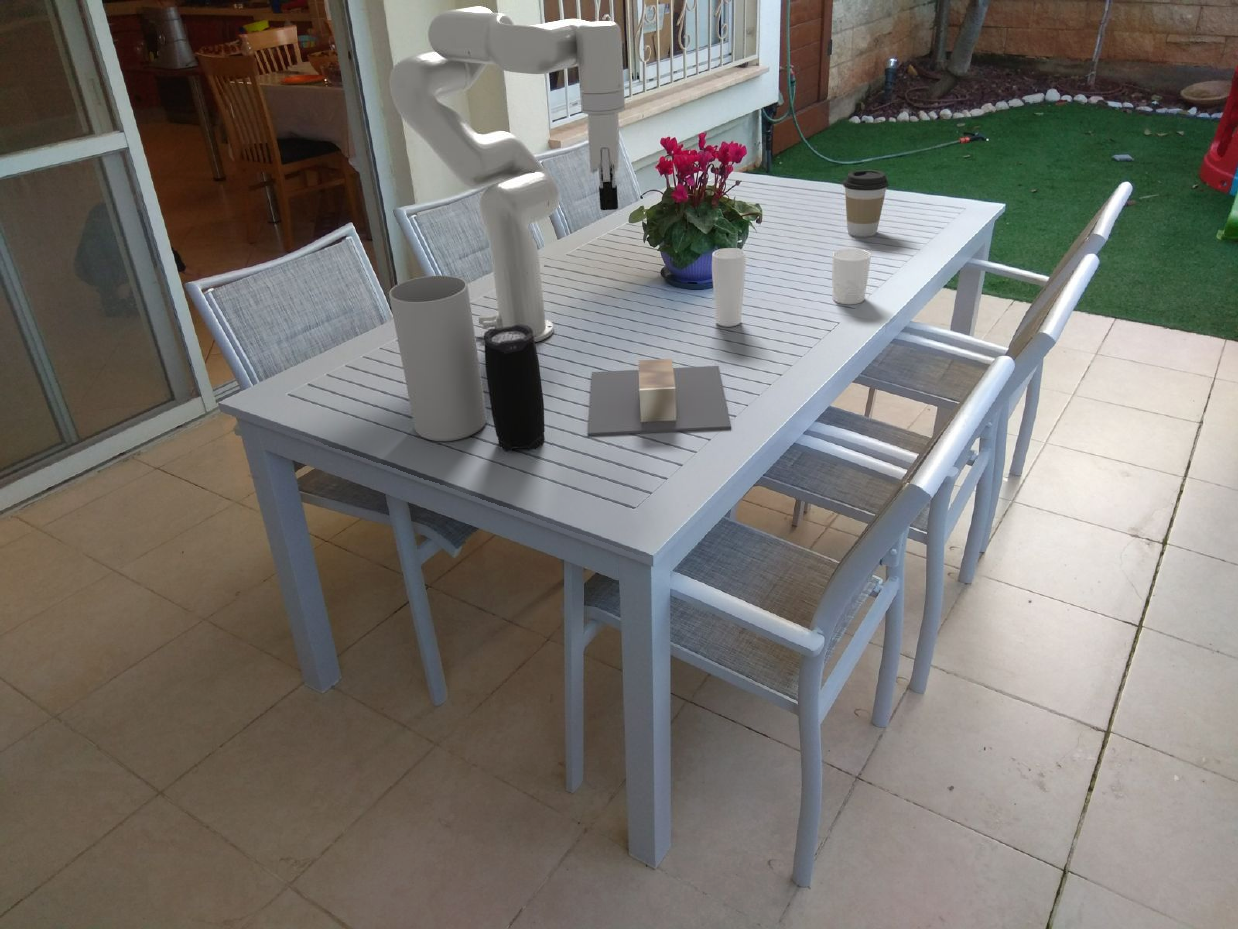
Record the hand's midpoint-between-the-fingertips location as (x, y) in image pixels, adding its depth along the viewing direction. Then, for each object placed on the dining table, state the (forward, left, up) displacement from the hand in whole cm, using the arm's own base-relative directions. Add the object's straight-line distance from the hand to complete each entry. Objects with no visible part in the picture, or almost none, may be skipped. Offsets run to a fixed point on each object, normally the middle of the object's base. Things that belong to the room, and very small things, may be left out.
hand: (609, 208), depth 168 cm
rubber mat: (+7, -20, -29) cm, 36 cm away
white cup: (+50, +24, -29) cm, 63 cm away
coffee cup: (+63, +70, -29) cm, 99 cm away
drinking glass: (+23, +14, -29) cm, 40 cm away
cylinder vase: (-29, -26, -29) cm, 49 cm away
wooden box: (+7, -17, -26) cm, 32 cm away
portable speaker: (-16, -33, -29) cm, 47 cm away
